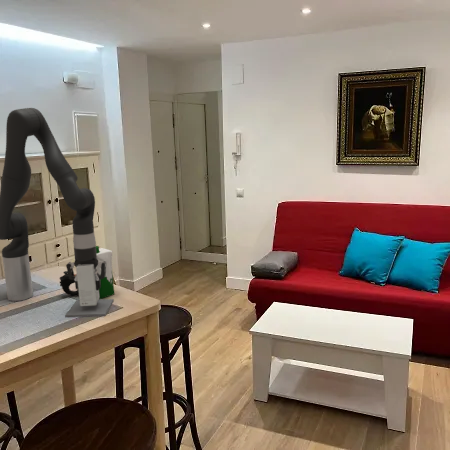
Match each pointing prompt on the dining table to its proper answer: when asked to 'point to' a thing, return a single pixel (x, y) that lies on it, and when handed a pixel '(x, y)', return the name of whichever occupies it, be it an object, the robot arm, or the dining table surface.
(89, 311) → the mat
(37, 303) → the dining table surface
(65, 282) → the controller
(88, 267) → the skincare box
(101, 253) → the milk carton
